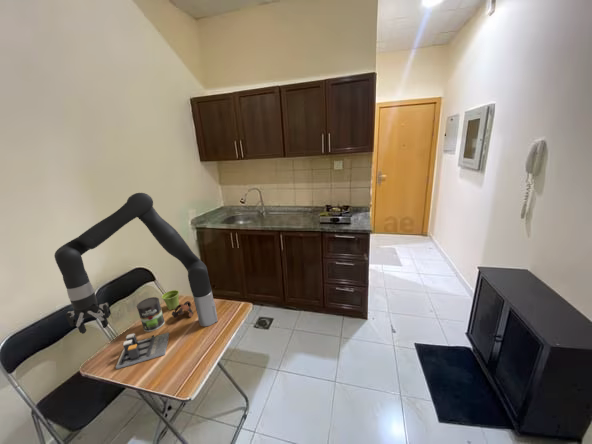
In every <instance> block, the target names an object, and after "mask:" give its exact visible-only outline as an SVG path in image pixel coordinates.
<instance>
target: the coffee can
mask: <svg viewBox="0 0 592 444" xmlns="http://www.w3.org/2000/svg"><path fill="white" fill-rule="evenodd" d="M136 309H137V312H138V316H139V319H140V322H141V325H142V329H143V331H144V332H148V333H150V332H154V331H156V330H158V329H160V328H161V327H162V326H164V324H165V323H166V321H165V317H164V315H163V310H162V306H161V303H160V298H159V297H157V296H156V297H155V296H153V297H148V298H145V299H143V300H141V301H139V302H138V303H137V304H136Z"/></svg>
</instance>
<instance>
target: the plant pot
mask: <svg viewBox="0 0 592 444" xmlns="http://www.w3.org/2000/svg"><path fill="white" fill-rule="evenodd" d="M179 294H180V291H179V290H177V289H171V290H170V291H167V292H165V293H163V294H162V296H161V299H162V300H163V301H164V303H165V305H166V308H167V309H168V310H169V311H171V310H174V309H175V308H176V307H177V306H178V305H180V300H179Z"/></svg>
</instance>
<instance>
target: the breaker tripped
mask: <svg viewBox="0 0 592 444" xmlns="http://www.w3.org/2000/svg"><path fill="white" fill-rule="evenodd" d="M128 352H129V355H130V358H131V360H132V359H135V358H138V357H139V355H140V353H139V349H138V346H137V344H135V345H131V346H129V347H128Z"/></svg>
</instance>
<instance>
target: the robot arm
mask: <svg viewBox="0 0 592 444" xmlns="http://www.w3.org/2000/svg"><path fill="white" fill-rule="evenodd" d="M137 218H138V220H140V221H141V222H142V223H143V224H144V225H145V227H146V228H147V229H148V230H149V232H150V233H151V235H152V236H153V238H154V239H155V240H156V241H157V242H158V244H159V245H160V246H161V247H162V248H163V250H165V251H166V252H167V253H168V254H169V255H171V256H172V257H174V258H175V259H177V260H178V261H179V262H180V263H181V264H182V266H183V267H185V270H186V271H187V277H188V279H187V280H188V283H189V287H190V291H191V293H192V298H193V302H194V307H195V310H196V314H197V319H198V323H199V326H201V327H210V326H212V325H213V324H215V323H217V322H218V313H217V308H216V303H215V300H214V296H213V290H212V285H211V282H210V276H209V272H208V266H207V265H206V264H205V263H204V261H202V260H201V258H199V257H198V256H197V255H196V254H195V253H194V252H193V251H192V249H191V248H190V247H189V245H188V244H187V242H186V241H185V239H184V238H183V237H182V235H181V234H180V232H178V231H177V230H176V229H175V228H174V227H173V226H172V225H171V224H170V223H169V222H167V221H166V220H165V219H164V218H162V217H161V216H160V214H158V212H157V210H156V209H155V208H154V200H153V198H152V196H151V195H149V194H147V193H146V192H136V193H133V194H131V195H130V196H129V197H128V198H127V200H126V202H125V203H124V204H123V205H121V207H120V208H119V209H117V210H116V211H114V212H113V213H112V214H110V215H109V216H107V217H105V218H103V219H102V220H101V221H98V222H97V223H95V224H94V225H92V226H91V227H89V228H88V229H87V230H85V231H84V232H82V233H81V234H80V235H79V236H77V237H75V238H73V239H72V240H69V241H67V242H66V243H64V244H63V245H61V246H60V247H59V248H57V249H56V251H55V253H54V260H55V263H56V264H57V267H58V269H59V271H60V273H61V275H62V280H63V284H64V285H65V289H66V291H67V292H66V293H67V296H68V299H69V302H70V304H71V307H72V309H73V310H68V311H67V313H65V315H64V316H65V318H66V320H67V323H68V324H69V326H70V327H71V328H72V327H77V329H78V331H79V333H81V334H82V335H84V334H85V333H86V332H87V328H86V325H85V322H84V320H85V319H88V318H95V319H98V320H100V323H101V326H102V328H103V329H106V328H107V327H108V325H109V321H108V319H109V318H110V316H111V315H112V312H111V308H110V305H109V302H104V303H101V304H100V303H99V302H98V299H97V296H96V292H95V290H94V288H93V285H92V283H91V280H90V278H89V275H88V273H87V271H86V268H85V265H84V261H83V257H82V256H83V255H84V254H85V253H87V252H88V251H90V250H94V249H96V248H97V247H99V246H100V245H101V244H103V243H104V242H105V241H107V240H108V239H109V238H111V236H113V235H114V234H115V233H117V232H118V231H119V230H120V229H122V228H123V227H124V226H126V225H127V224H129V222H132V221H133V220H135V219H137ZM102 310H103V311H102ZM75 316H78V319H76V317H75Z"/></svg>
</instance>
